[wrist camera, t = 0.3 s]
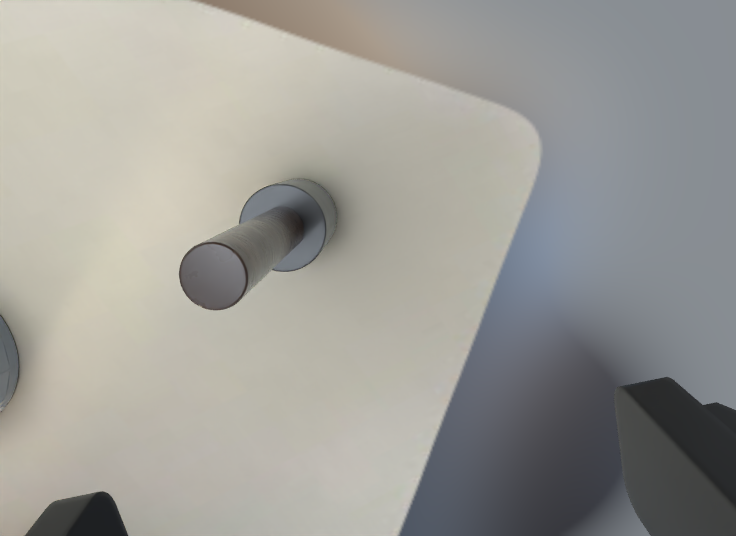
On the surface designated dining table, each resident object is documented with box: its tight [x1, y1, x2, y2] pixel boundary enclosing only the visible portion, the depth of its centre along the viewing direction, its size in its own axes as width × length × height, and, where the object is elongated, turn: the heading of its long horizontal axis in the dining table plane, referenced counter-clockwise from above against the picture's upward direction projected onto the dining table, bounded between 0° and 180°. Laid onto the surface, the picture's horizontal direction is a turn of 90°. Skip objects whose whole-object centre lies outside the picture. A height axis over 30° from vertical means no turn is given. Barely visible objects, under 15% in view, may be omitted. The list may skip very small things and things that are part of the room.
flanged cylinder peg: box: [179, 179, 337, 310], centre depth 26 cm, size 4×4×16 cm
